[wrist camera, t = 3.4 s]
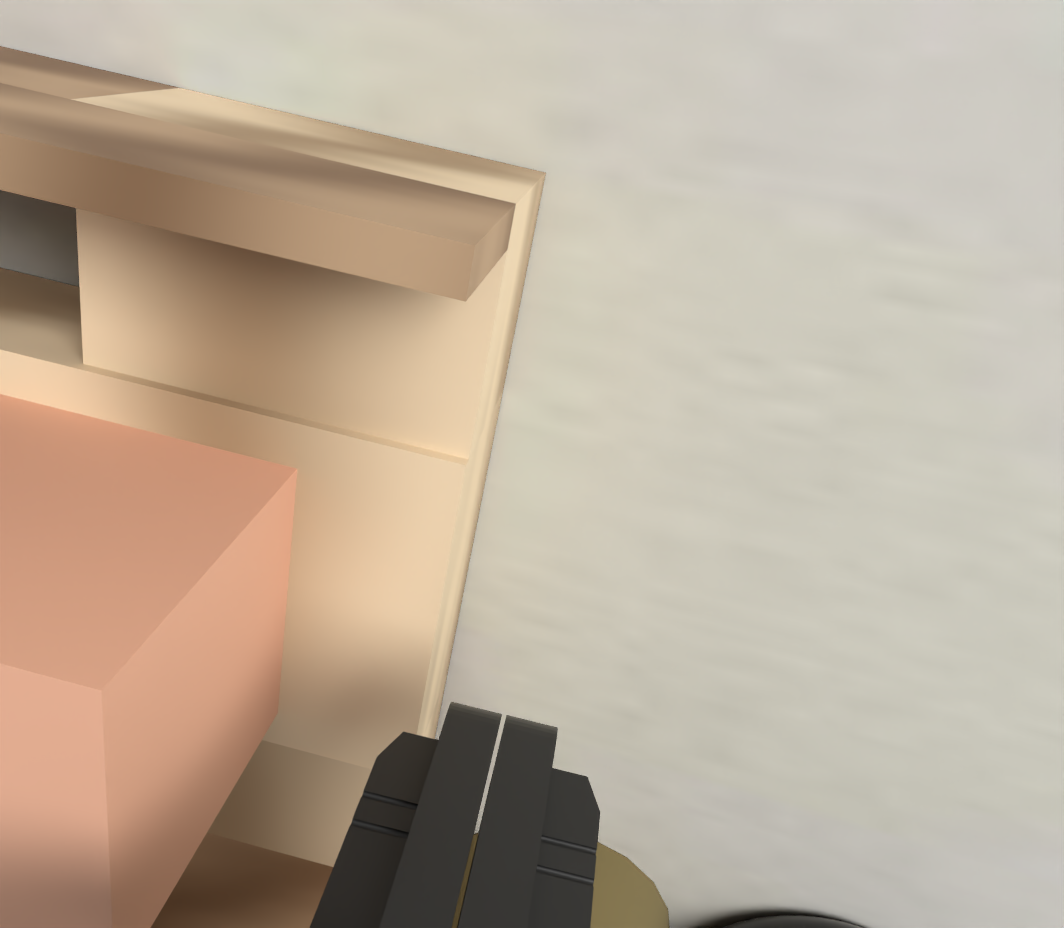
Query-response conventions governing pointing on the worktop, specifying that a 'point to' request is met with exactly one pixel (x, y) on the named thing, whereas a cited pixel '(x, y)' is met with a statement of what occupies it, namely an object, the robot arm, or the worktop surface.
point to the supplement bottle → (791, 922)
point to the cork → (610, 893)
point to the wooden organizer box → (284, 398)
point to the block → (127, 656)
